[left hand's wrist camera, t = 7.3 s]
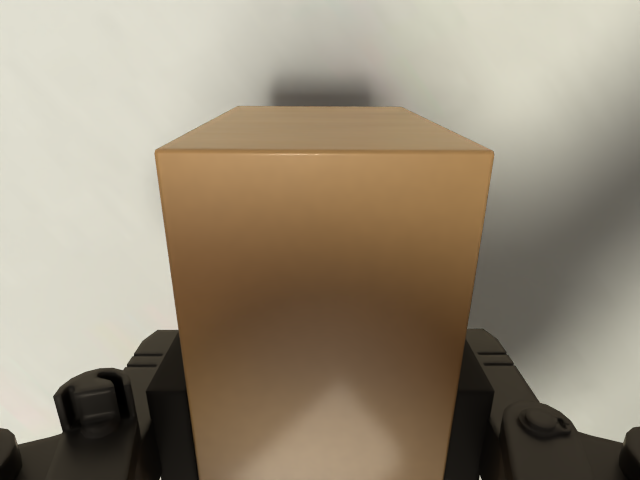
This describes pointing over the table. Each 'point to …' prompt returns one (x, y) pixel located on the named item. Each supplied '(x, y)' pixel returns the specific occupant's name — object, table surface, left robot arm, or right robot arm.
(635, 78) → the table surface
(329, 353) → the bar
